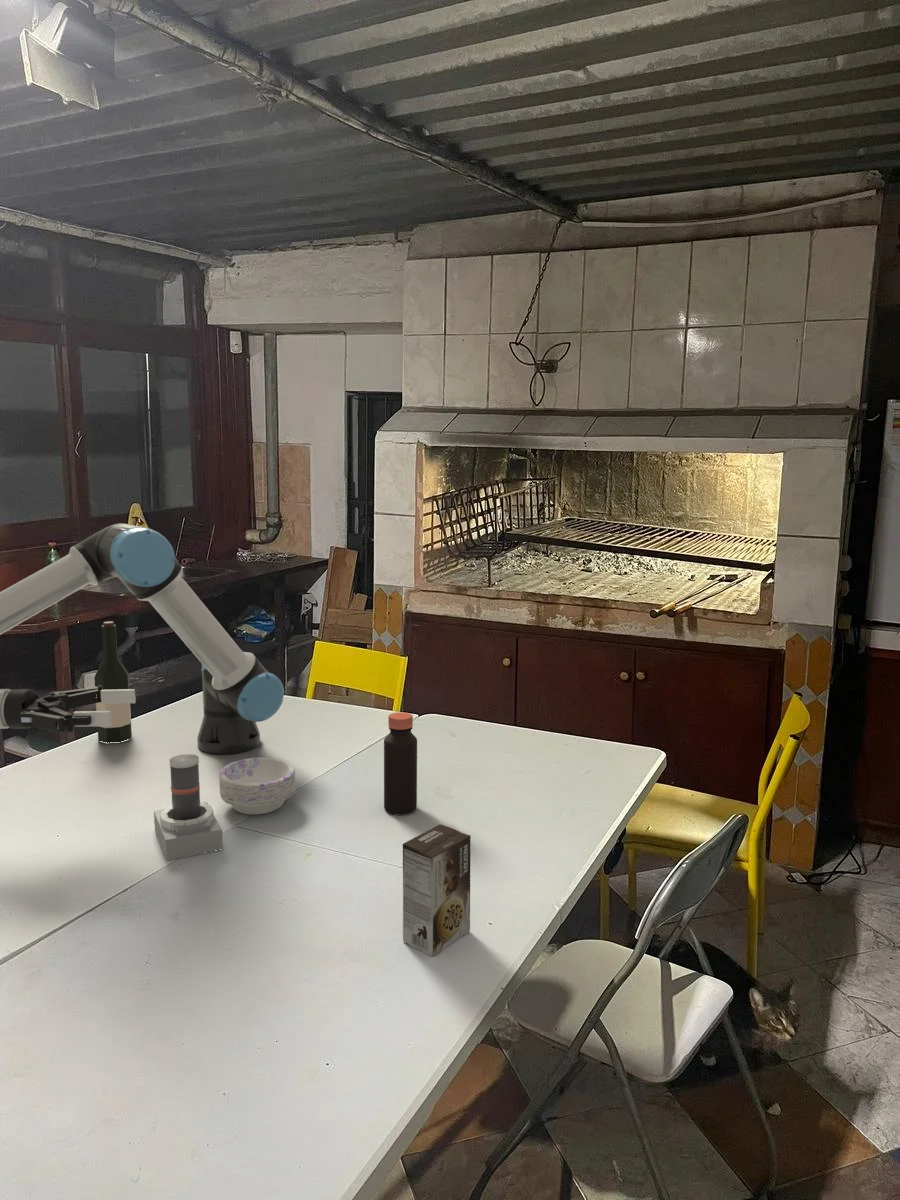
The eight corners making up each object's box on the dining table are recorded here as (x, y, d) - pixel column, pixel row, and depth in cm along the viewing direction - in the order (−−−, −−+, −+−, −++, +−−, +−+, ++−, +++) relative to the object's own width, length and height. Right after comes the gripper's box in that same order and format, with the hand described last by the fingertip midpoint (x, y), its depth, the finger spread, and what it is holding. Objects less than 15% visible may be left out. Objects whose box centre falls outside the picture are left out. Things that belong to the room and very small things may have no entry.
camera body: (207, 820, 173) (206, 794, 172) (222, 849, 161) (221, 821, 160) (154, 830, 169) (153, 803, 168) (166, 860, 157) (165, 832, 156)
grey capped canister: (198, 812, 168) (195, 752, 166) (203, 822, 163) (201, 761, 161) (170, 817, 165) (167, 756, 163) (175, 827, 161) (172, 765, 159)
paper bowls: (278, 824, 172) (277, 786, 171) (207, 817, 175) (205, 779, 174) (306, 794, 187) (305, 759, 185) (240, 788, 190) (238, 753, 188)
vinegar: (377, 811, 179) (377, 717, 175) (394, 799, 185) (394, 708, 181) (406, 818, 176) (406, 723, 172) (422, 806, 182) (423, 713, 178)
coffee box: (439, 917, 139) (440, 822, 136) (471, 932, 135) (473, 834, 132) (400, 942, 132) (400, 842, 129) (433, 958, 128) (433, 855, 125)
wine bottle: (138, 734, 224) (132, 619, 219) (123, 744, 216) (116, 626, 211) (107, 732, 225) (100, 618, 220) (91, 743, 217) (83, 625, 211)
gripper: (41, 707, 179) (145, 705, 180) (-20, 751, 155) (101, 748, 155) (37, 671, 178) (142, 670, 178) (-25, 710, 153) (97, 708, 154)
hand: (123, 706), depth 167 cm, fingers open, 13 cm apart
